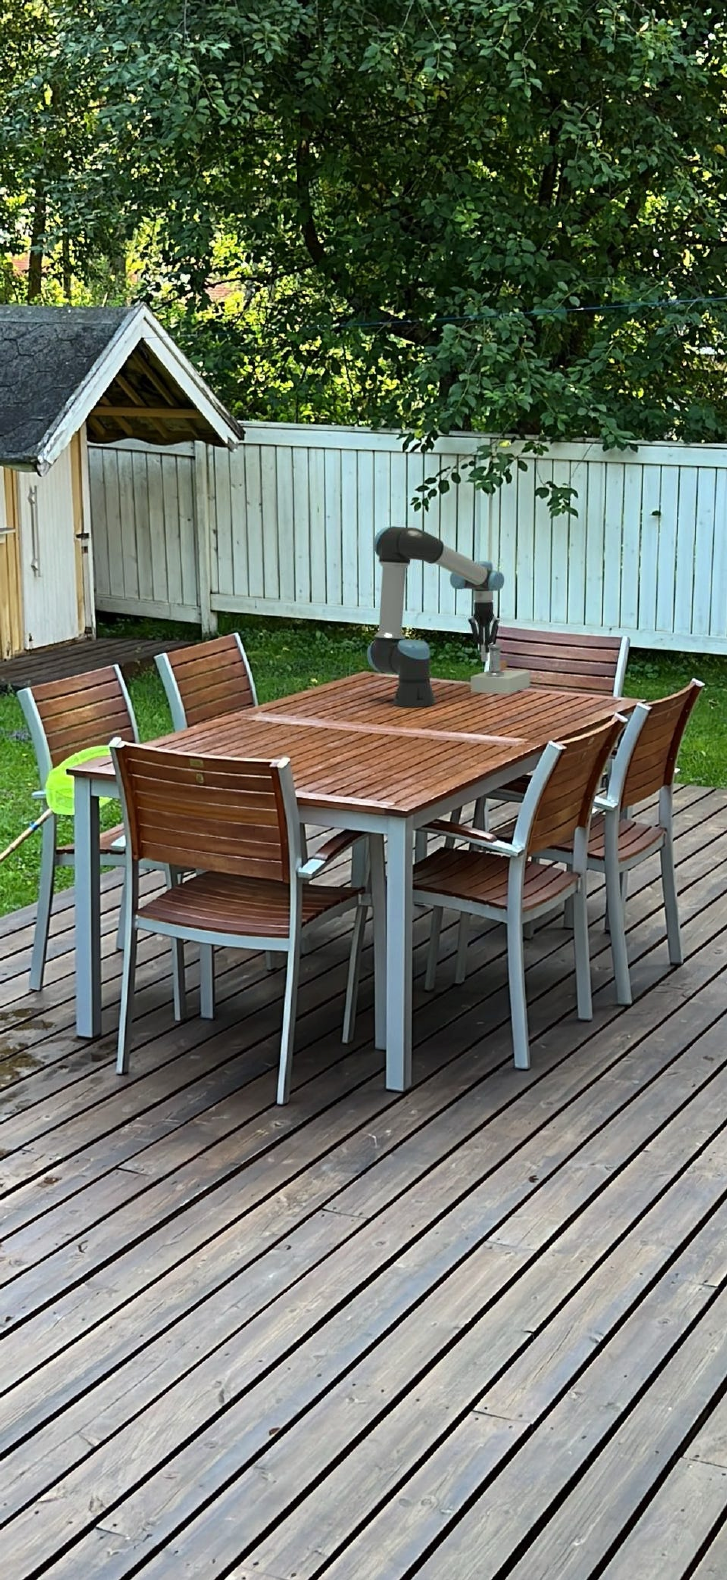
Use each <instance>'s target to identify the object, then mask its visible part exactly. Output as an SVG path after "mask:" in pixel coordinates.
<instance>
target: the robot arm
mask: <svg viewBox="0 0 727 1580" xmlns="http://www.w3.org/2000/svg"><path fill="white" fill-rule="evenodd" d="M373 550H374V552H375V554H376V555H377V557H378V563H379V564H380V566H381V567H382V571H381V572H382V573H381V589H380V604H379V605H380V606H379V623H378V632H376V633H375V635H374V638H373V641H372V642H370V643H369V644H370V645H368V647H367V650H366V658H367V662H368V663H369V665H370V666H371V668H372V669H373V670H375V671H377V672H381V673H387V674H388V673H389V674H396V675H398V684H397V685H398V686H397V688H396V692H395V695H394V699H393V702H394V704H393V705H395V706H397V707H406V708H422V707H430V706H434V705H436V697H435V694H434V691H433V688H432V685H431V652H430V646H429V644H428V643H427V642H426V641H423V640H420V639H419V640H418V639H410V638H409V639H406V637H405V635H404V634H403V619H404V617H403V616H404V600H405V599H404V598H405V584H406V569H407V568H408V567H409V566H410V565H411V560H417V561H421V562H425V563H427V564H429V565H430V564H431V565H433V564H436V565H438V567H441V568H443V569H445V570H447V571H449V572H450V576H449V583H450V586H451V587H452V588H453V589H455V590H465V589H466V590H467V589H468V590H473V601H474V603H473V611H474V612H473V614H472V615H473V616H472V617H470V618H468V619H467V622H468V623H469V625H470V629H471V633H472V637H473V641H474V643H475V644H477V645H478V648H479V649H478V652H479V654H480V657H481V658H480V660H481V662H482V663H485V662H489V661H488V657H489V656H488V654H490V648H488V644H495V643H494V642H495V639H496V634H497V629H498V625H499V623H500V621H501V620H500V619H499V618H496V616H495V614H494V602H493V601H494V592H498V591H500V590H501V589H502V588H503V587H504V586H505V577H504V574H503V572H501V571H498V570H494V568H493V563H492V562H491V561H487V560H481V561H478V560H477V561H474V560H472V559H471V558H468V557H467V556H465V555H463V554H461V553H460V552H458V551H455V550H453V549H452V548H450V547H448V546H447V545H445V544H444V542H443V541H442V539H440V538H439V537H436V536H434V535H432V534H430V533H428V532H426V531H425V530H422V529H419V528H417V527H408V526H396V525H395V526H386V527H385V526H384V527H383V528H381V529H380V530H379V531H378V532H377V533H376V535H375V537H374V540H373ZM491 623H492V626H491Z"/></svg>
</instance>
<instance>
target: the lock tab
mask: <svg viewBox="0 0 727 1580" xmlns="http://www.w3.org/2000/svg"><path fill="white" fill-rule="evenodd" d="M507 668H508V667H507V660H504V659H503V660H502V659H500V670H507Z"/></svg>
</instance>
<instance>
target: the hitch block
mask: <svg viewBox="0 0 727 1580" xmlns="http://www.w3.org/2000/svg"><path fill="white" fill-rule="evenodd" d="M486 672H490V669H489V670H487V671H484V672H480V673H477V674H474V675H472V676H470V692H471V693H482V694H498V695H511V694H514V693H516V691H517V692H519V691H518V690H520V691H522V690H524V689H528V688H530V687H531V671H529V670H511V669H510V670H509V669H503V670H500V672H504V676H502V677H487V676H486Z"/></svg>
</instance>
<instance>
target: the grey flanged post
mask: <svg viewBox="0 0 727 1580" xmlns="http://www.w3.org/2000/svg"><path fill="white" fill-rule="evenodd" d="M502 647H503V645H502V643H491V644H488V648H490V651H489V670H490V672H486V671H485V672H486V676H487V677H502V676H504V672H500V661H501V648H502Z"/></svg>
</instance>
